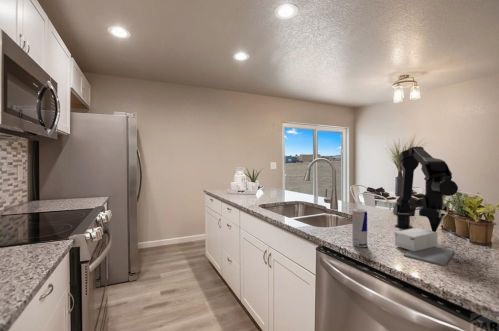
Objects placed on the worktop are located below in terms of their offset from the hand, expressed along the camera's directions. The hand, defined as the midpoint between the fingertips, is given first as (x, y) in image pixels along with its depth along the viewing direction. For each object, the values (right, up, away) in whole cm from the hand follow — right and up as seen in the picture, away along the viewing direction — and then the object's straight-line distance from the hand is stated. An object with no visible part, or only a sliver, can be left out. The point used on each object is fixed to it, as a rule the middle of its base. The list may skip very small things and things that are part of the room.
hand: (434, 231), depth 97 cm
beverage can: (-27, -7, +5) cm, 29 cm away
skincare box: (+1, -3, +5) cm, 6 cm away
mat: (-5, -7, -5) cm, 10 cm away
